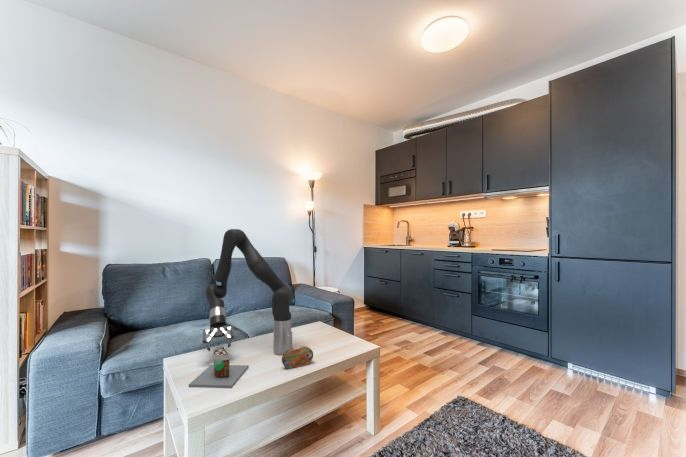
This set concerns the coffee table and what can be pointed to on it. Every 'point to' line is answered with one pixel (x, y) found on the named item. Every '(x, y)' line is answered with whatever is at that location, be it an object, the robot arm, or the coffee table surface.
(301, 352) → the tin
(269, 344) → the coffee table surface
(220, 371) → the food container
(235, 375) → the slate board
